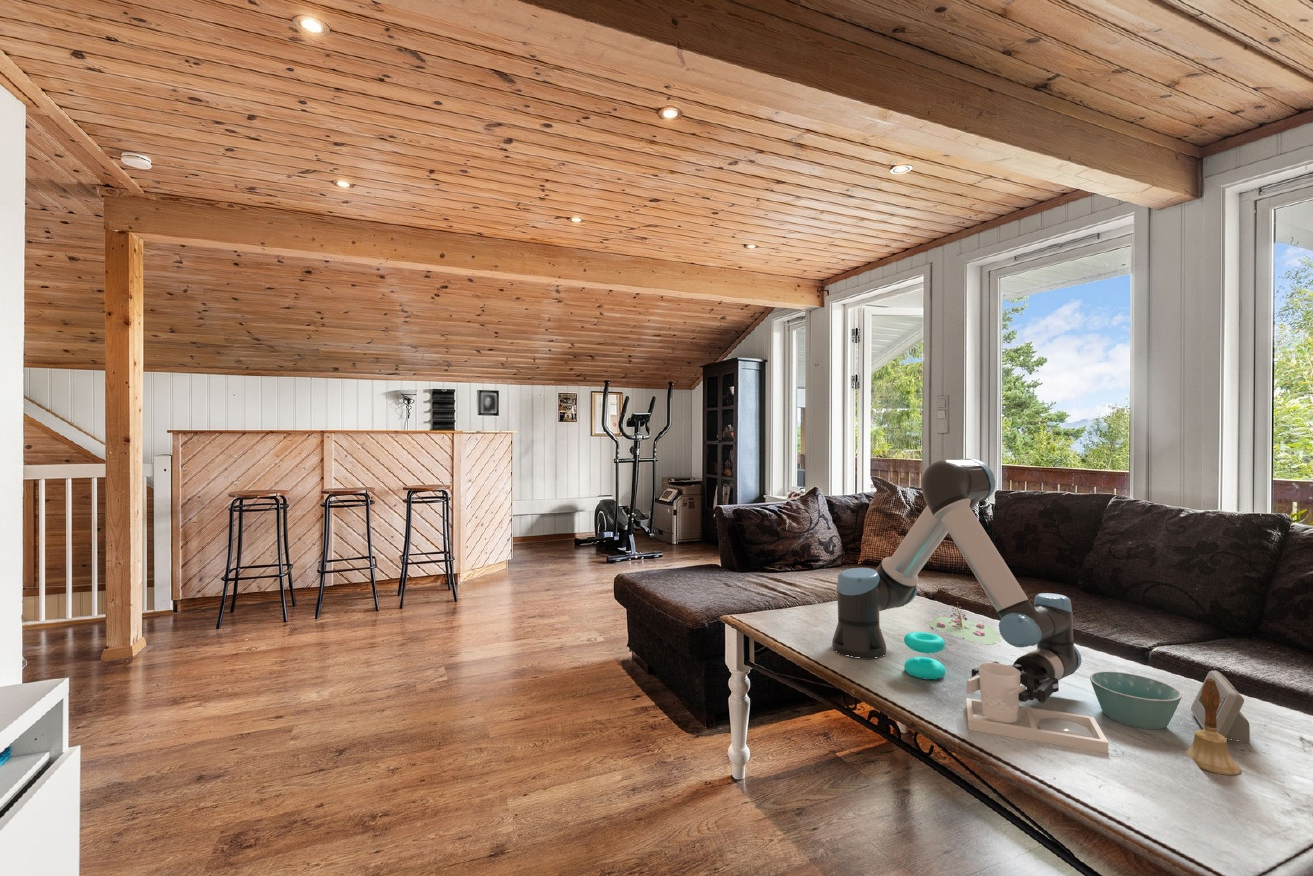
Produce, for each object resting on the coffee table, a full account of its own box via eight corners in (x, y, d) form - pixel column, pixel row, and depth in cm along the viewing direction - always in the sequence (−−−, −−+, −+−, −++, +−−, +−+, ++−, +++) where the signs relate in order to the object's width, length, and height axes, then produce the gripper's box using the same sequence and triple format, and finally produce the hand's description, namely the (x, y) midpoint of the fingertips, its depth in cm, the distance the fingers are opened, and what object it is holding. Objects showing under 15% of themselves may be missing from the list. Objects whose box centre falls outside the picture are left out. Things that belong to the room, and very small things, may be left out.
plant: (1026, 642, 186) (1026, 613, 186) (969, 648, 181) (969, 618, 181) (967, 620, 210) (966, 593, 210) (915, 624, 205) (915, 598, 205)
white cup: (1010, 708, 133) (1009, 663, 133) (1028, 725, 125) (1028, 677, 125) (973, 707, 134) (972, 662, 134) (988, 724, 126) (988, 676, 126)
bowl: (1167, 714, 135) (1167, 677, 135) (1195, 746, 121) (1194, 704, 121) (1083, 702, 142) (1082, 667, 142) (1099, 731, 128) (1099, 692, 128)
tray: (968, 734, 127) (968, 719, 127) (966, 711, 138) (966, 698, 138) (1108, 758, 117) (1108, 742, 117) (1093, 731, 127) (1093, 717, 127)
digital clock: (1191, 711, 136) (1190, 664, 136) (1246, 724, 130) (1245, 674, 130) (1189, 738, 124) (1188, 686, 124) (1251, 753, 118) (1250, 698, 118)
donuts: (941, 644, 153) (899, 637, 159) (941, 684, 153) (900, 676, 159) (948, 634, 161) (908, 628, 167) (948, 672, 161) (909, 664, 167)
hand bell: (1247, 766, 113) (1245, 681, 113) (1233, 780, 109) (1231, 691, 109) (1190, 748, 120) (1188, 667, 120) (1174, 760, 116) (1173, 676, 116)
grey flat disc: (1048, 741, 121) (1048, 736, 121) (1031, 720, 130) (1031, 716, 130) (1099, 746, 119) (1099, 741, 119) (1079, 725, 128) (1079, 720, 128)
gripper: (1089, 701, 132) (1041, 730, 118) (992, 672, 148) (941, 695, 135) (1088, 666, 132) (1041, 691, 118) (991, 641, 148) (941, 661, 135)
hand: (988, 693), depth 127 cm, fingers closed on white cup, 8 cm apart
